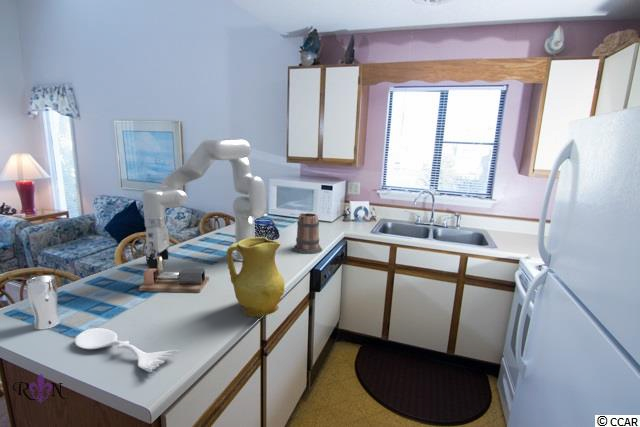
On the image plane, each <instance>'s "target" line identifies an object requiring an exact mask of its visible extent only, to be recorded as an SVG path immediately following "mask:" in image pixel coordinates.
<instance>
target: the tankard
mask: <svg viewBox="0 0 640 427" xmlns="http://www.w3.org/2000/svg"><path fill="white" fill-rule="evenodd" d="M296 223H297V230H296V231H297V232H296V233H297V234H296V237H295V238H296V239H295V242H296V244H295V245H294V246H293V248H292V251H293V252H294V253H296V254H301V255H317V254H320V253H321V252H323V248H322V247H321V245H320V237H319V234H320V233H319V226H320V221H319V215H318V214H316V213H309V212H307V213H299V215H298V219H297V222H296Z"/></svg>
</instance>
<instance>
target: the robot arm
mask: <svg viewBox="0 0 640 427" xmlns="http://www.w3.org/2000/svg"><path fill="white" fill-rule="evenodd" d="M251 151H252V148H251V145H250V143H249V141H248V140H246V139H243V138H223V139H204V140H203V141H202V142H200V144H199V145H198V146H197V148H195V150H194V151H193V152H192V154H191V155H190V156H189V158H188V159H187V160H186V161H185V162H184V163H183V164H182V165H181V166H179V167H178V168H177V169H175V170H174V171H172V172H171V173H169V175H167V176H166V177H165V178H164V179H163V181H162V182H161V183H160V184H159V186H158V187H157V189H149V190H148V189H147V190H144V191H143V192H142V206H143V218H144V227H145V229H146V230H145V246H147V249H146V248H145V256H146V255H147V259H148V264H149V265H148V264H147V265H148V268H149V269H157V268H158V262H157V258H156V256H157V252H158V253H160V256H162V260H164V261H166V260H167V261H168V260H169V247H170V238H169V229H168V226H167V225H168V224H167V212H166V209H169V208H170V209H171V208H172V209H174V208H181V207H184V206H185V205H186V204H187V202H188V195H187V193H186V192H185V191H184V190H182V189H181V188H182V187H184V186H185V185H186V184H187V183H190V182H193V181H195V180H196V181H197V180H198V179H200V178H202V177H203V176H204V175H205V174H206V172H207V170H209V168H210V167H211V165H213V163H214V162H215V161H228V162H229V163H230V165H231V169H232V179H233V186H234V190H235V192H237V193H238V194H242V195H240V196H237V197H236V198H234V200H233V203H232V210H233V215H234V227H235V233H234V234H235V243H238V242H239V241H241V240H243V239H247V238H253V237H255V236H256V234H255V232H256V231H255V230H256V229H255V224H256V223H255V222H254V220H255V219H256V218H263V217H262V216H263V215H264V214H266V211H267V197H266V196H267V195H266V184H265V182H264V181H263V179H262V178H261V177H260V176H259V175H253V174H252V170H251V165H250V160H249V158H248V157H249V156H250V154H251ZM153 250H155V251H153ZM151 253H154V255H153V254H151ZM232 258H233V261H238V262H243V256H242V255H241V254H240V252H239V251H236V250H235V253H233V254H232Z"/></svg>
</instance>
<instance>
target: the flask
mask: <svg viewBox="0 0 640 427" xmlns="http://www.w3.org/2000/svg"><path fill="white" fill-rule="evenodd" d="M146 249H147V246H146V245H145V250H146ZM153 251H155V250H153ZM151 254H153V255H154V253H151ZM157 256H160V253H158V252H157ZM145 261H146V265H147V266H149V264H148V259H147V255H146V254H145ZM164 261H165V260H162V267H163V266H164V265H165V262H164Z"/></svg>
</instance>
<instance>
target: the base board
mask: <svg viewBox="0 0 640 427" xmlns="http://www.w3.org/2000/svg"><path fill="white" fill-rule="evenodd" d="M209 281H210V276H205V281H204V282H203V284H202V285H180V283H179V280H157V281H156V282H155V283H154V284H144V283H143V284H142V285H140V287H138V290H139V291H145V292H147V293H148V292H149V293H150V292H152V293H155V292H156V293H161V292H162V293H201V292H202V290H203V289H204V288H205V286H206V285H207V284H208V282H209ZM139 291H138V292H139Z"/></svg>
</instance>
